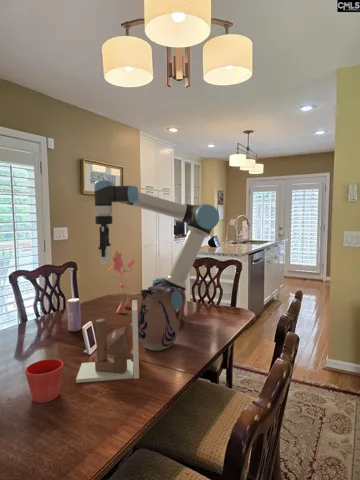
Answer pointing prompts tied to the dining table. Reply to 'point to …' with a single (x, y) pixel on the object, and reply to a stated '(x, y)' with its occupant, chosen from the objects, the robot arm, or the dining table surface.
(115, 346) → the wooden block
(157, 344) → the ceramic pitcher
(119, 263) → the figurine
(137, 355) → the white l-shaped bracket
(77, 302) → the beverage can
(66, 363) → the dining table surface
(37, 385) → the flower pot
